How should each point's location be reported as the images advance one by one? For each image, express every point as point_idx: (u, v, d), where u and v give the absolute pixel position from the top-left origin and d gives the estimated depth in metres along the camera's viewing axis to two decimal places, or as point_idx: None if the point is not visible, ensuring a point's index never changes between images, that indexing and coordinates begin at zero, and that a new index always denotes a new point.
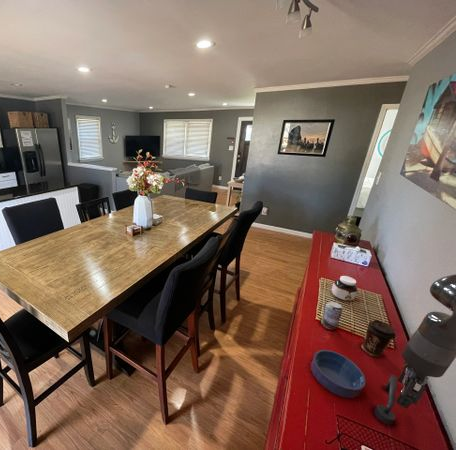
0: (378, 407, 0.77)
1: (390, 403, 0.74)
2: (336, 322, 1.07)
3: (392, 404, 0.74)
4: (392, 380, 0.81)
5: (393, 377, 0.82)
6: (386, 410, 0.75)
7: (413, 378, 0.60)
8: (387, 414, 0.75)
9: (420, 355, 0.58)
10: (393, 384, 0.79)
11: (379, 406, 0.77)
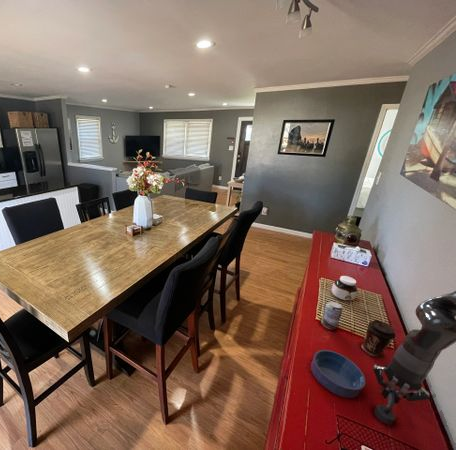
0: (378, 407, 0.77)
1: (390, 403, 0.74)
2: (336, 322, 1.07)
3: (392, 404, 0.74)
4: None
5: None
6: (386, 410, 0.75)
7: None
8: (387, 414, 0.75)
9: None
10: None
11: (379, 406, 0.77)
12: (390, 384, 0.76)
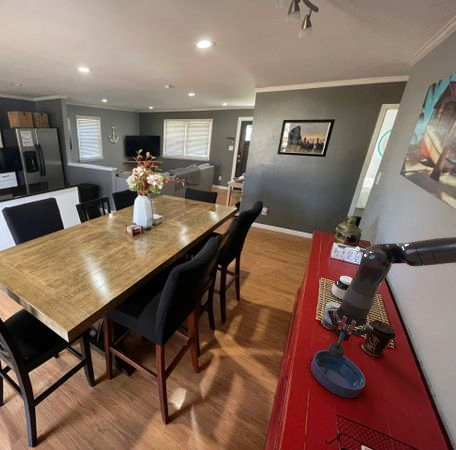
0: (331, 344, 0.86)
1: (340, 338, 0.83)
2: None
3: (342, 339, 0.83)
4: None
5: None
6: (337, 345, 0.84)
7: None
8: (338, 349, 0.84)
9: None
10: (346, 325, 0.89)
11: (332, 343, 0.86)
12: (341, 323, 0.85)
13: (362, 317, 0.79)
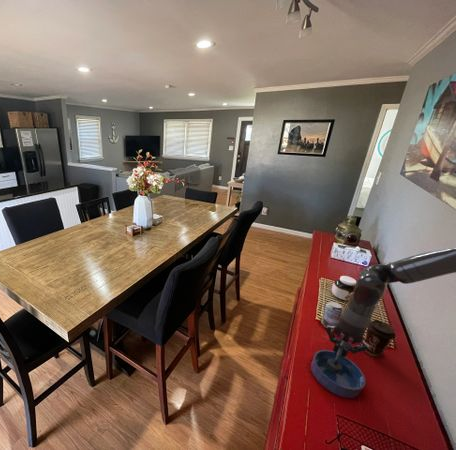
0: (329, 360, 0.90)
1: (338, 355, 0.87)
2: (336, 322, 1.07)
3: (339, 356, 0.86)
4: None
5: None
6: (335, 361, 0.88)
7: None
8: (335, 365, 0.88)
9: None
10: (343, 341, 0.92)
11: (330, 359, 0.90)
12: (339, 340, 0.88)
13: (359, 335, 0.83)
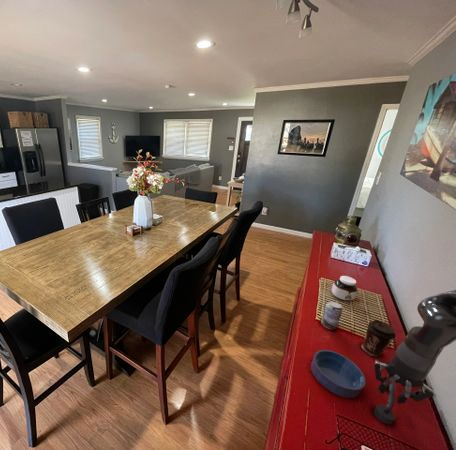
0: (378, 407, 0.77)
1: (390, 403, 0.74)
2: (336, 322, 1.07)
3: (392, 404, 0.74)
4: None
5: None
6: (386, 410, 0.75)
7: None
8: (387, 414, 0.75)
9: None
10: (393, 383, 0.79)
11: (379, 406, 0.77)
12: (389, 380, 0.76)
13: (420, 380, 0.69)
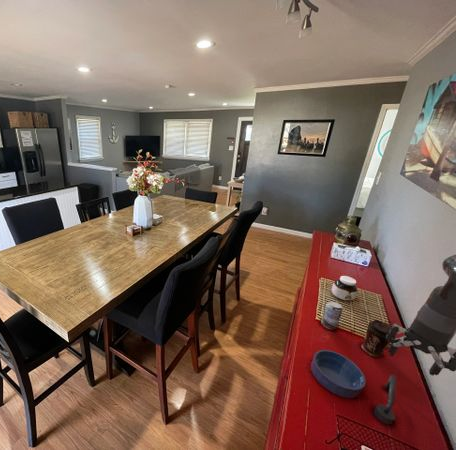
0: (378, 407, 0.77)
1: (390, 403, 0.74)
2: (336, 322, 1.07)
3: (392, 404, 0.74)
4: (392, 380, 0.81)
5: (393, 377, 0.82)
6: (386, 410, 0.75)
7: None
8: (387, 414, 0.75)
9: None
10: (393, 383, 0.79)
11: (379, 406, 0.77)
12: (405, 343, 0.70)
13: (444, 343, 0.64)
